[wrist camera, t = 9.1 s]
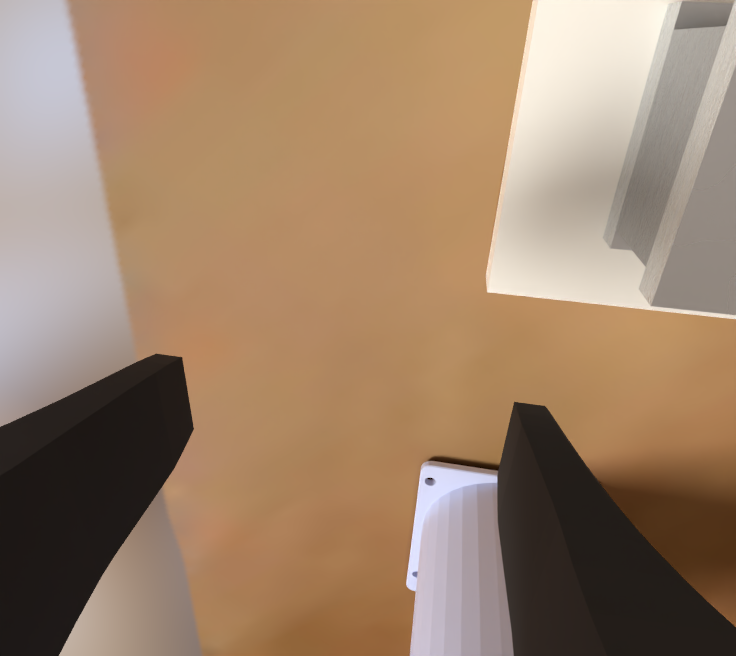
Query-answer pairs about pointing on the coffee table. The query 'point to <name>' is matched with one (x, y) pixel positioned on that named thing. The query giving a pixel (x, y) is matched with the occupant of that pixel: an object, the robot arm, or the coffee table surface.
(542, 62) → the stand
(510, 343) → the coffee table surface
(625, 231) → the block
